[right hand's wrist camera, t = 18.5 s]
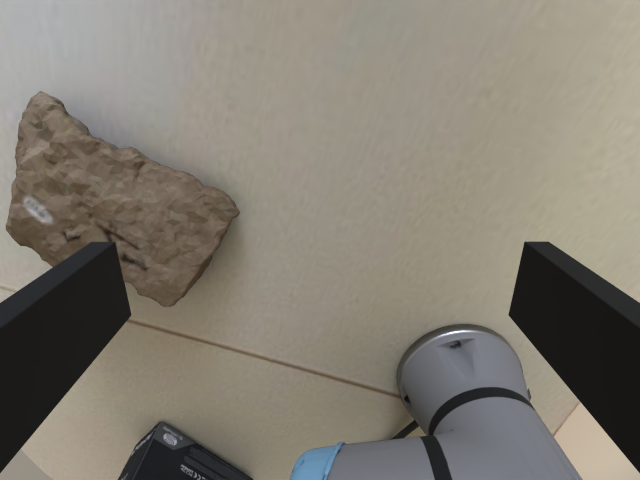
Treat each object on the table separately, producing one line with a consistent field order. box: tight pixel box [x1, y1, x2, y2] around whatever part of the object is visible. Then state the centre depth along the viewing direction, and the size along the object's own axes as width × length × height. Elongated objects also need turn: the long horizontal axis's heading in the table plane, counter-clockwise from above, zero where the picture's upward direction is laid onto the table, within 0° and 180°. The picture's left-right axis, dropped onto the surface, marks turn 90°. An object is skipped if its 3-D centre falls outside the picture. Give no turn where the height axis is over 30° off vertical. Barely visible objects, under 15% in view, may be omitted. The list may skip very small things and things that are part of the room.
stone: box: [6, 92, 240, 307], centre depth 38 cm, size 21×15×6 cm
